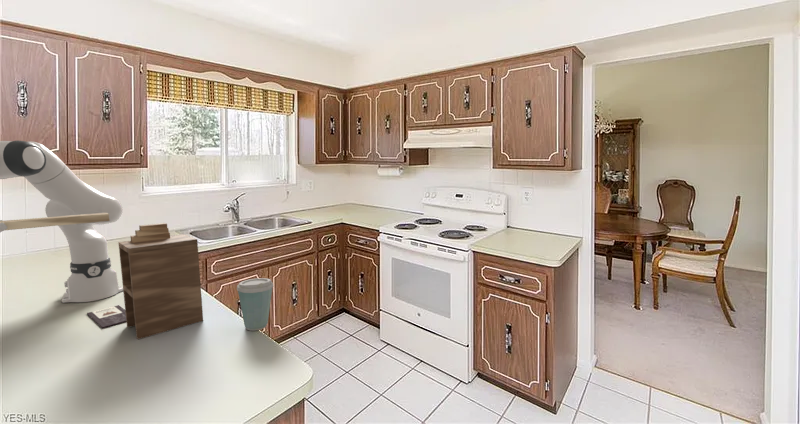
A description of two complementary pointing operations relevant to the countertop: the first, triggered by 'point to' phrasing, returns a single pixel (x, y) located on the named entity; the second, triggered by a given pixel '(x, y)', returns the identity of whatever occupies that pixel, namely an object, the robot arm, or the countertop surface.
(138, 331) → the rack
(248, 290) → the disposable coffee cup
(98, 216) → the birch strip
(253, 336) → the countertop surface
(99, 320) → the chocolate bar
